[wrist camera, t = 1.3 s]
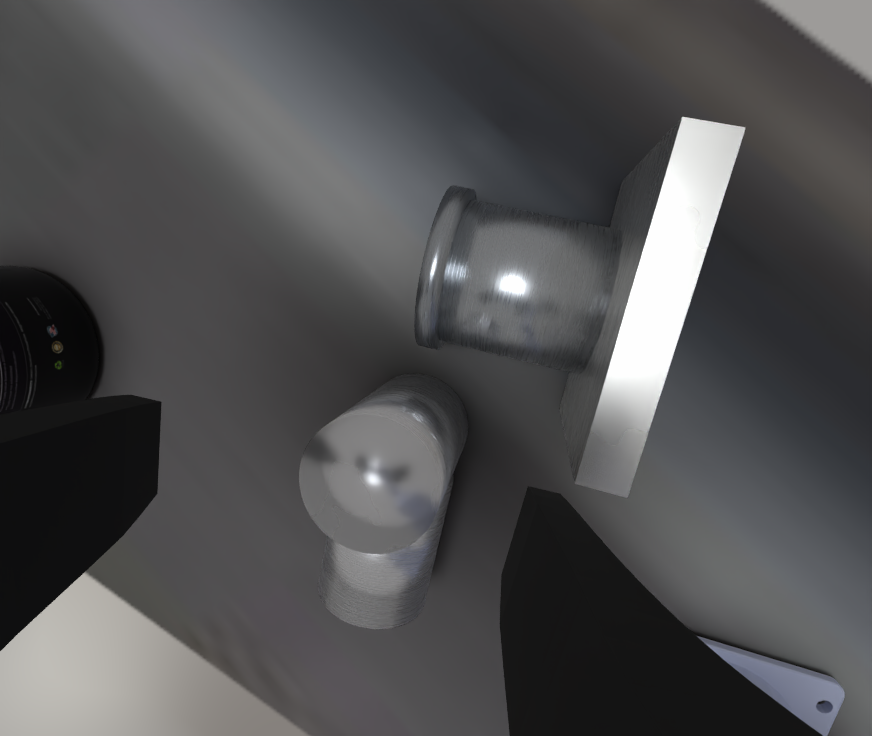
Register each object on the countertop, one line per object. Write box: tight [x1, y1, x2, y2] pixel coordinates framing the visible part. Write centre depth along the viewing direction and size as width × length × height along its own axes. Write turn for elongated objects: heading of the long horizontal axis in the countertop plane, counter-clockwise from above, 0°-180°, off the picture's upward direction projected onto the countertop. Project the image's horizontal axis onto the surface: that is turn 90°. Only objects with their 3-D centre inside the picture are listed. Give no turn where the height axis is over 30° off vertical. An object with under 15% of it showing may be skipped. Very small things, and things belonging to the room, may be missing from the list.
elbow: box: [299, 373, 468, 629], centre depth 17 cm, size 8×4×6 cm, turn 168°
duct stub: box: [415, 117, 745, 498], centre depth 15 cm, size 6×8×7 cm
